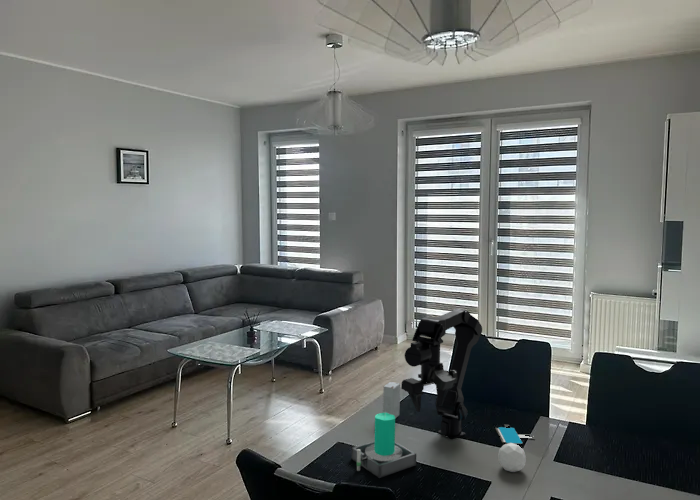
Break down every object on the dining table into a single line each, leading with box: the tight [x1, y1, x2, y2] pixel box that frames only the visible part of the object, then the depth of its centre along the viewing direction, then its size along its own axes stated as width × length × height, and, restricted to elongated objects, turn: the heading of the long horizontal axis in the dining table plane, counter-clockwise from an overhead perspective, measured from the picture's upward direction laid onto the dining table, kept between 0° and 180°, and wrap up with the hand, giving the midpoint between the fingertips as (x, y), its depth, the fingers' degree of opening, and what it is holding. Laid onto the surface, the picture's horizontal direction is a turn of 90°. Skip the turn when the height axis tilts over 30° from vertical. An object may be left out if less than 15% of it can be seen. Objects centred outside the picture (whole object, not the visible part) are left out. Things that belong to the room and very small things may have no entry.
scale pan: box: [361, 444, 402, 463], centre depth 157 cm, size 14×11×1 cm
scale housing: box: [351, 440, 417, 479], centre depth 157 cm, size 16×14×6 cm
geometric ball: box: [497, 443, 527, 473], centre depth 154 cm, size 8×8×8 cm
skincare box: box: [382, 381, 401, 419], centre depth 191 cm, size 6×4×12 cm
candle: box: [374, 412, 396, 455], centre depth 158 cm, size 6×6×12 cm
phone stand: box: [495, 424, 532, 445], centre depth 176 cm, size 20×12×2 cm, turn 176°
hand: (429, 408), depth 166 cm, fingers open, 9 cm apart
